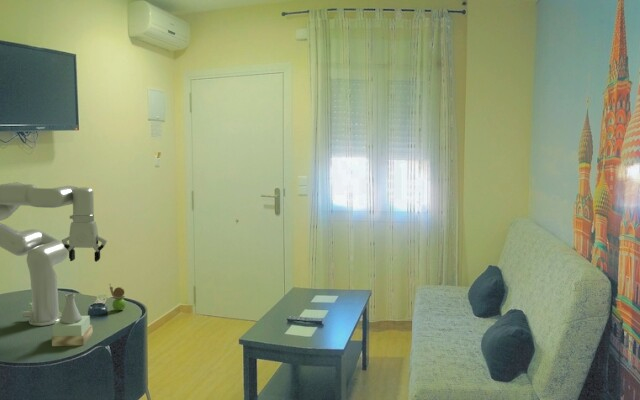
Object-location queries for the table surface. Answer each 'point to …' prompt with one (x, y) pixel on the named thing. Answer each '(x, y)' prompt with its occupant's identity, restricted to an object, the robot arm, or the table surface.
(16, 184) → the robot arm
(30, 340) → the table surface
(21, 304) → the table surface
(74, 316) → the flask
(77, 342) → the tower base block
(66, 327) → the tower top block
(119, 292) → the snail figurine
